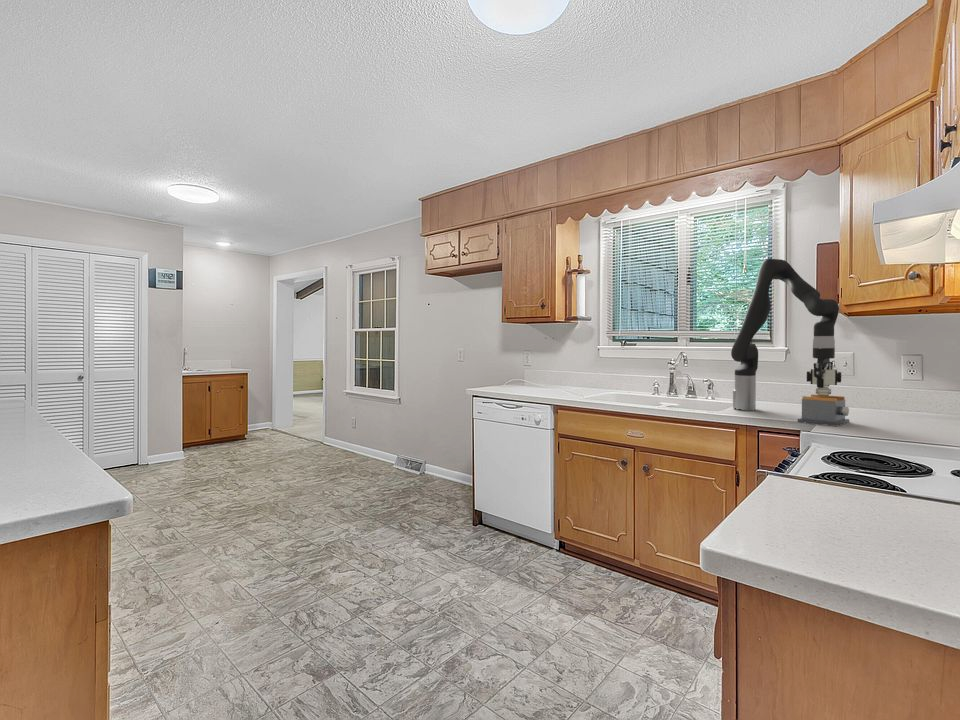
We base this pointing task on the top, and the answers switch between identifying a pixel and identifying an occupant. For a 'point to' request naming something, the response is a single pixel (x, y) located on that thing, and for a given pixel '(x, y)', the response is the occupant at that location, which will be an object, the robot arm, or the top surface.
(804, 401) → the orange-striped grey block
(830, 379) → the pneumatic valve
